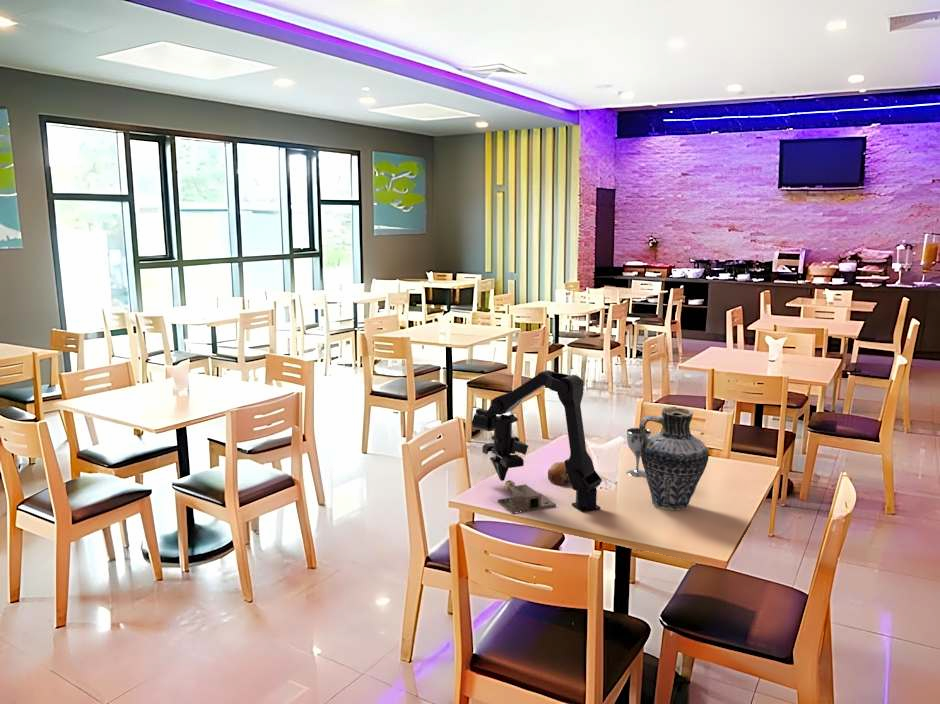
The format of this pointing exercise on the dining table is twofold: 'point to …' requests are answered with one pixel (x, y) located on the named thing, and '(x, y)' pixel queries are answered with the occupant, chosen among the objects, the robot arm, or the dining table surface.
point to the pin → (509, 485)
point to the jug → (672, 459)
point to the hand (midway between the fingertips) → (502, 480)
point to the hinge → (525, 500)
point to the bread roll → (558, 474)
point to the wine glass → (636, 448)
